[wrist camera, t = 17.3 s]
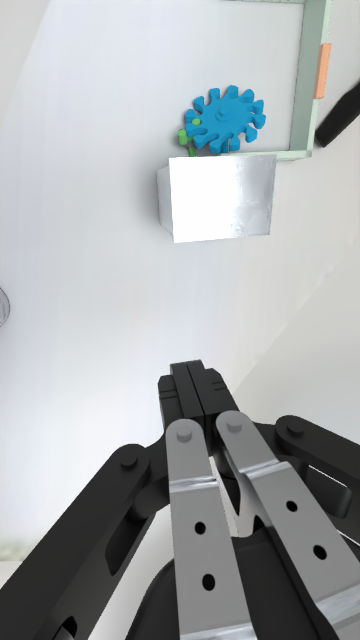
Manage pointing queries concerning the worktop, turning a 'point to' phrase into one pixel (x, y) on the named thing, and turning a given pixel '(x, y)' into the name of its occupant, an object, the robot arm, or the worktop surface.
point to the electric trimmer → (340, 117)
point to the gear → (222, 121)
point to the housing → (216, 196)
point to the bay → (306, 78)
